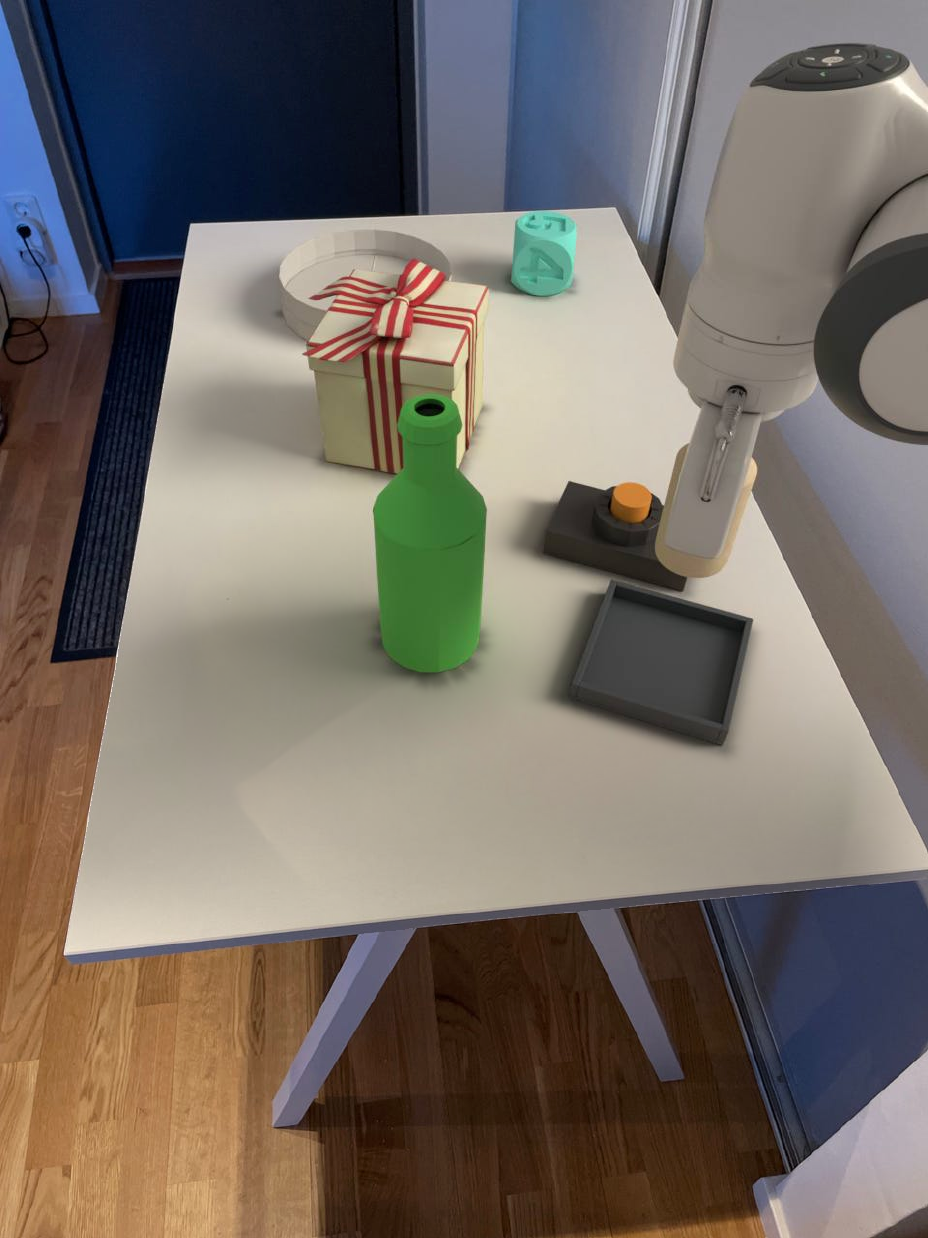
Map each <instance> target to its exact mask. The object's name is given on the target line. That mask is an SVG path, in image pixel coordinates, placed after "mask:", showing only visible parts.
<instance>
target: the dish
mask: <svg viewBox="0 0 928 1238" xmlns="http://www.w3.org/2000/svg"><path fill="white" fill-rule="evenodd" d="M412 259H416V260H418V261H420V262H422V263H424V264H426V265H428V266H429V267H431V268H434V269H436V270H438V271H440V272H442V273H444V274H446V277H445V278H444V280H446V281H452V269H451V262H450V261H449V259H448V258H447V256H446V255H445V254H444V253H443V251H441V250H440V249H439V248H437V246H435V245H433V244H432V243H431V242H427V241H426V240H423V239H421V238H419V237H416V236H414V235H409V234H405V233H402V232H398V231H391V230H380V229H352V230H344V231H336V232H331V233H328V234H325V235H321V236H317V237H314V238H312V239H310V240H308V241H306V242H304V243H302V244H300V245H298V246H296V247H295V248H294V249H293V250H292V251H290V252H289V253H288V254H287V255H286V256H285V258H284V259H283V260H282V262H281V264H280V266H279V276H278V278H279V285H280V304H281V312H282V315H283V318H284V320H285V322H286V324H287V326H288V327H289V328H290V329H291V331H293V333H295V334H296V335H298V337H300V338H302V339H304V340H305V341H308V340H309V339H310V337H311V335H312V334H313V332H314V331H315V329H316V328H317V326H318V325H319V323H320V322H321V320H322V319H323V317H324V316H325V314H326V312H327V310H328V309H329V307H330V305H331V304H332V302H333V301H334V299H335V298H336V295H335V296H330V297H327V298H323V299H321V300H311V299H309V298H310V297H312V296H314V295H316V294H318V293H319V292H320V291H322V290H323V289H324V288H326V287H327V286H329V285H330V284H332V283H333V282H335V281H337V280H338V279H340V278H342V277H349V276H350V274H351V273H352V271H353V270H354V269H357V270H366V271H374V272H382V273H389V274H398V275H402V274H403V272H404V269H405V267H406V265H407V264H408V263H409V262H410V261H411V260H412Z"/></svg>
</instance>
